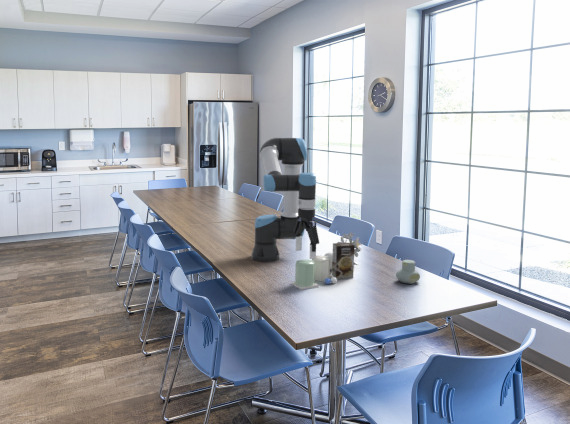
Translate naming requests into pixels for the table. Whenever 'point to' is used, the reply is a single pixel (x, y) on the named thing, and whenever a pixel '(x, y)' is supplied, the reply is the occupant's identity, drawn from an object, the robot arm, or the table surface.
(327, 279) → the marble
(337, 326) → the table surface
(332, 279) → the marble
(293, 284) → the coaster
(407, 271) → the air freshener
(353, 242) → the flower vase
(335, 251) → the coffee box
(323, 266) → the cream cup
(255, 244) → the robot arm
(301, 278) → the sage green dome
